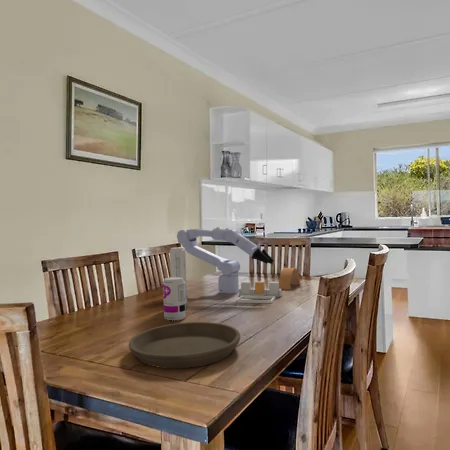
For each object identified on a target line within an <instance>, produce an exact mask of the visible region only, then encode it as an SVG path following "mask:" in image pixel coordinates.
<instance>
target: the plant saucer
mask: <svg viewBox="0 0 450 450" xmlns="http://www.w3.org/2000/svg"><path fill="white" fill-rule="evenodd" d="M240 340H241V333H240V332H239V330H238V329H237V328H235V327H233V326H231V325H228V324H224V323H218V322H209V321H208V322H207V321H191V322H189V321H187V322H178V323H171V324H170V323H169V324H164V325H161V326H160V325H159V326H156V327H152V328H149V329H146V330H144V331H140V332H139V333H137V334H136V335H134V336H133V337H132V338H131V339H130V340H128V341H129V342H128V348H129V350H130V351H131V353H132V354H133V355H134V356H135V357H137V359H138V360H139V361H140V362H142V361H143V362H145V363H147V364H150V365H154V366H159V367H158V368H160V367H166V368H165V369H173V368H177V369H191V368H190V367H192V368H197V367H202V366H207V365H211V364H214V363H218V362H220V361H221V360H224V359H225V358H226V357H228V356H229V355H231V353H232V352H233V350H235V348H236V347H237V346H238V344H239V342H240ZM143 362H142V363H143ZM145 363H144V364H145ZM147 364H146V365H147ZM150 365H149V366H150ZM154 366H153V367H154Z"/></svg>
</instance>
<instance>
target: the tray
mask: <svg viewBox="0 0 450 450" xmlns="http://www.w3.org/2000/svg"><path fill="white" fill-rule="evenodd" d="M259 299H260V300H259ZM264 299H265V300H264ZM275 300H276V297H275V296H240V297H238V298H236V299H235V303H238V304H239V303H245V304H246V303H248V304H273V302H274V301H275Z"/></svg>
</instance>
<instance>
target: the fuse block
mask: <svg viewBox="0 0 450 450" xmlns="http://www.w3.org/2000/svg"><path fill="white" fill-rule="evenodd" d="M282 290H283V289H279V294H269V288H265V290H264V294H255V287H251V289H250V294H245V293H241V287H239V292H238V298H239V297H240V296H275V298H280V297H282V295H283V292H282Z"/></svg>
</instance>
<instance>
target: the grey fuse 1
mask: <svg viewBox="0 0 450 450" xmlns="http://www.w3.org/2000/svg"><path fill="white" fill-rule="evenodd" d="M240 288H241V293H245V294H250V289H252V283H251V281H241V282H240Z"/></svg>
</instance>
